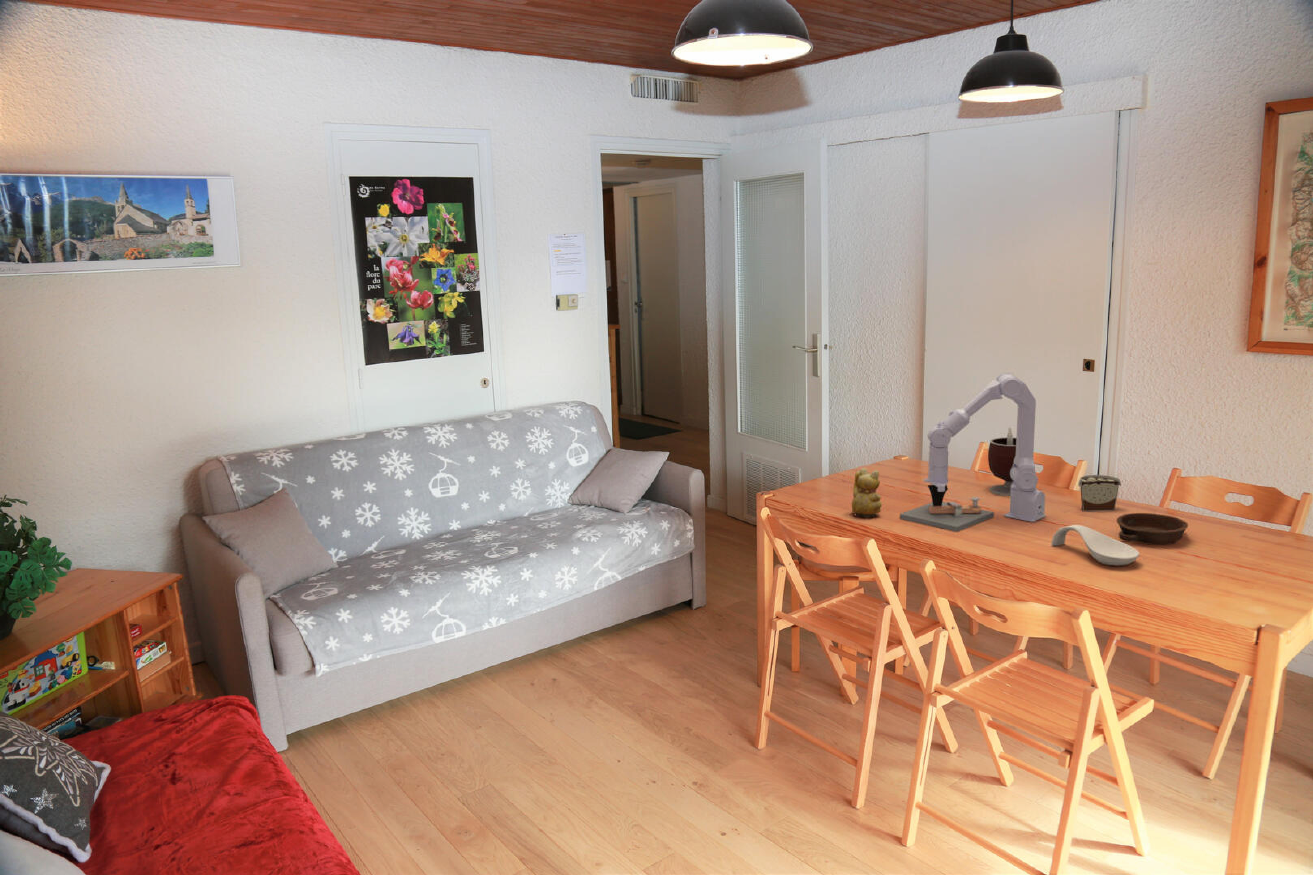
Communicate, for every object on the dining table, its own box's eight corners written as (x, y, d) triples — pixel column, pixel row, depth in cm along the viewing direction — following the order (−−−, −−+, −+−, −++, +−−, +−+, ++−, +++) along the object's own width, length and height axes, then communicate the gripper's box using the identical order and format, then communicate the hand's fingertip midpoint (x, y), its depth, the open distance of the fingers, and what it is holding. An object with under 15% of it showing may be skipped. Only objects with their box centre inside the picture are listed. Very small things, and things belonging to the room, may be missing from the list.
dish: (1095, 535, 266) (1096, 518, 265) (1153, 524, 273) (1154, 508, 272) (1147, 553, 250) (1148, 535, 249) (1207, 541, 257) (1208, 523, 256)
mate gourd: (1032, 497, 305) (1034, 437, 301) (987, 495, 310) (989, 436, 305) (1029, 485, 320) (1031, 428, 316) (986, 484, 324) (988, 427, 320)
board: (993, 516, 287) (993, 512, 286) (957, 531, 274) (957, 526, 274) (936, 505, 302) (937, 500, 302) (899, 518, 289) (899, 514, 289)
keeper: (953, 512, 288) (953, 501, 287) (961, 517, 283) (961, 505, 282) (947, 513, 288) (947, 502, 287) (955, 517, 283) (955, 506, 282)
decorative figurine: (885, 514, 294) (885, 468, 291) (873, 521, 288) (873, 473, 285) (857, 510, 301) (857, 464, 298) (845, 516, 294) (845, 470, 291)
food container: (1112, 505, 293) (1113, 474, 291) (1119, 510, 287) (1121, 479, 285) (1071, 505, 294) (1072, 475, 292) (1077, 511, 288) (1079, 479, 286)
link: (979, 509, 288) (980, 496, 288) (982, 513, 285) (982, 499, 284) (928, 510, 290) (928, 497, 289) (930, 513, 287) (930, 500, 286)
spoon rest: (1148, 564, 242) (1150, 538, 240) (1118, 573, 236) (1119, 546, 235) (1070, 541, 262) (1071, 516, 261) (1040, 549, 257) (1041, 524, 255)
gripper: (921, 460, 295) (920, 501, 297) (928, 471, 281) (927, 514, 283) (944, 459, 294) (943, 501, 296) (952, 471, 280) (951, 514, 282)
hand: (937, 508), depth 290 cm, fingers closed, pressing on link
